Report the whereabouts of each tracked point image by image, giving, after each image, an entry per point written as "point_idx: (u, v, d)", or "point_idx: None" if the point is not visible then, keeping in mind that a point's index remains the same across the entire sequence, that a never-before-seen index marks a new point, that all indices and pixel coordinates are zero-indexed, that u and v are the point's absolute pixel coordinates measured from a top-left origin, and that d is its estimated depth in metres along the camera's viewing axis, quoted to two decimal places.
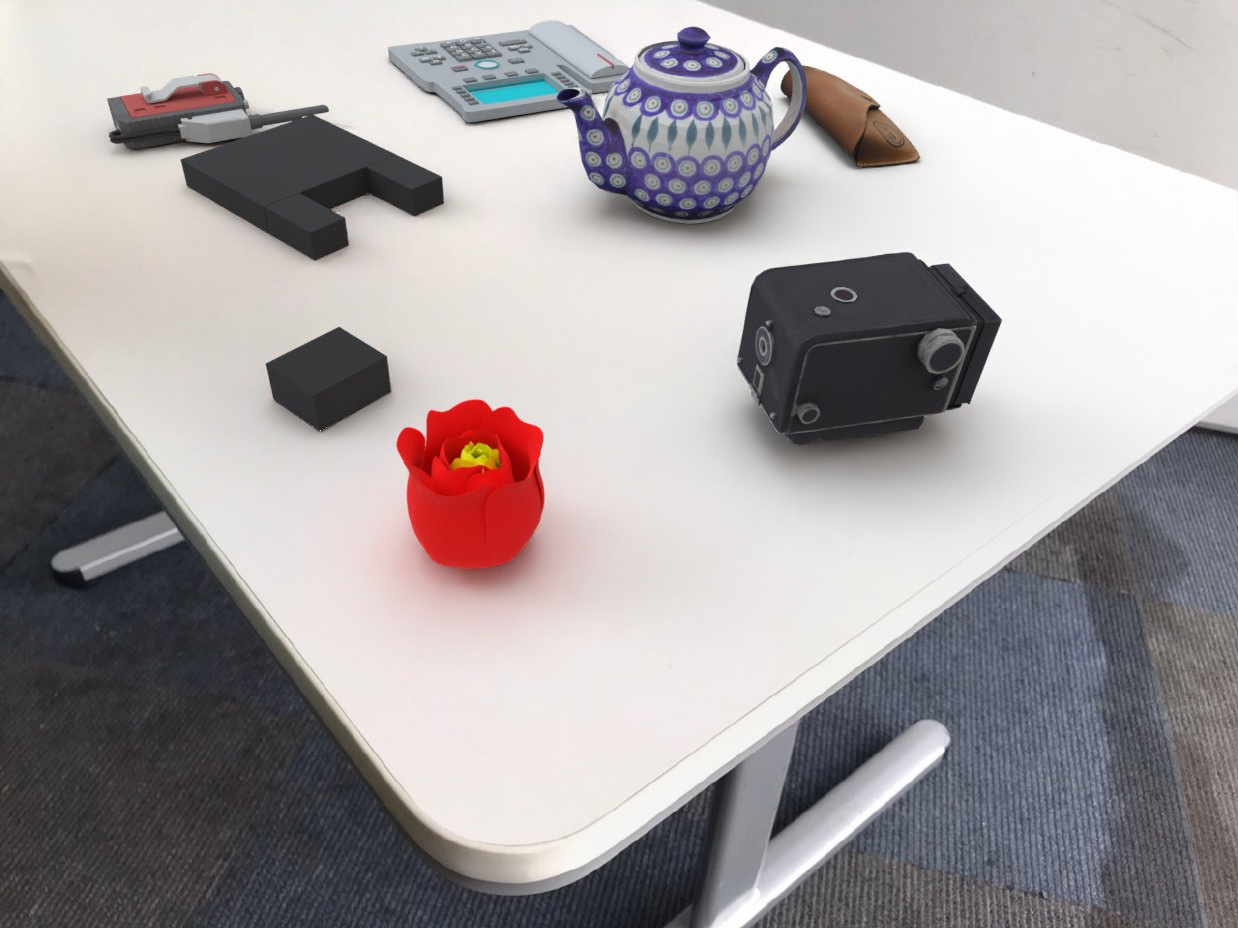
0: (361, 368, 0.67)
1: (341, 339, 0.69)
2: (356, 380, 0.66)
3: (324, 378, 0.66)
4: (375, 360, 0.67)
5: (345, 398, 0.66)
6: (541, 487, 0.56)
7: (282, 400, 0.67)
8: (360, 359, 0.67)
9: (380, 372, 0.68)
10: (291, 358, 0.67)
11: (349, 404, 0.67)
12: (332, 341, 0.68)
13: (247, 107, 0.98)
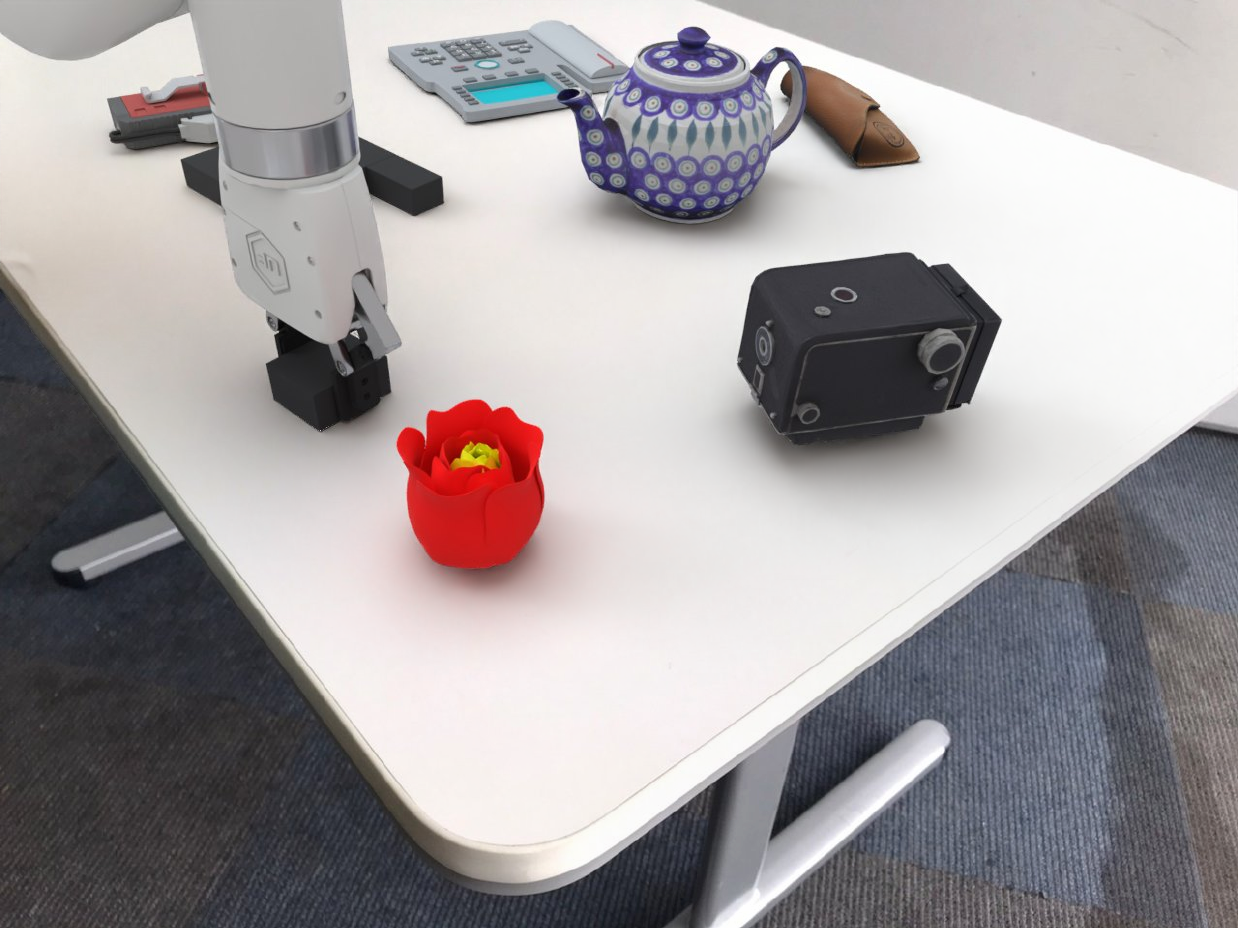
0: None
1: None
2: None
3: (324, 378, 0.66)
4: None
5: None
6: (541, 487, 0.56)
7: (282, 400, 0.67)
8: None
9: (380, 372, 0.68)
10: (291, 358, 0.67)
11: None
12: None
13: None
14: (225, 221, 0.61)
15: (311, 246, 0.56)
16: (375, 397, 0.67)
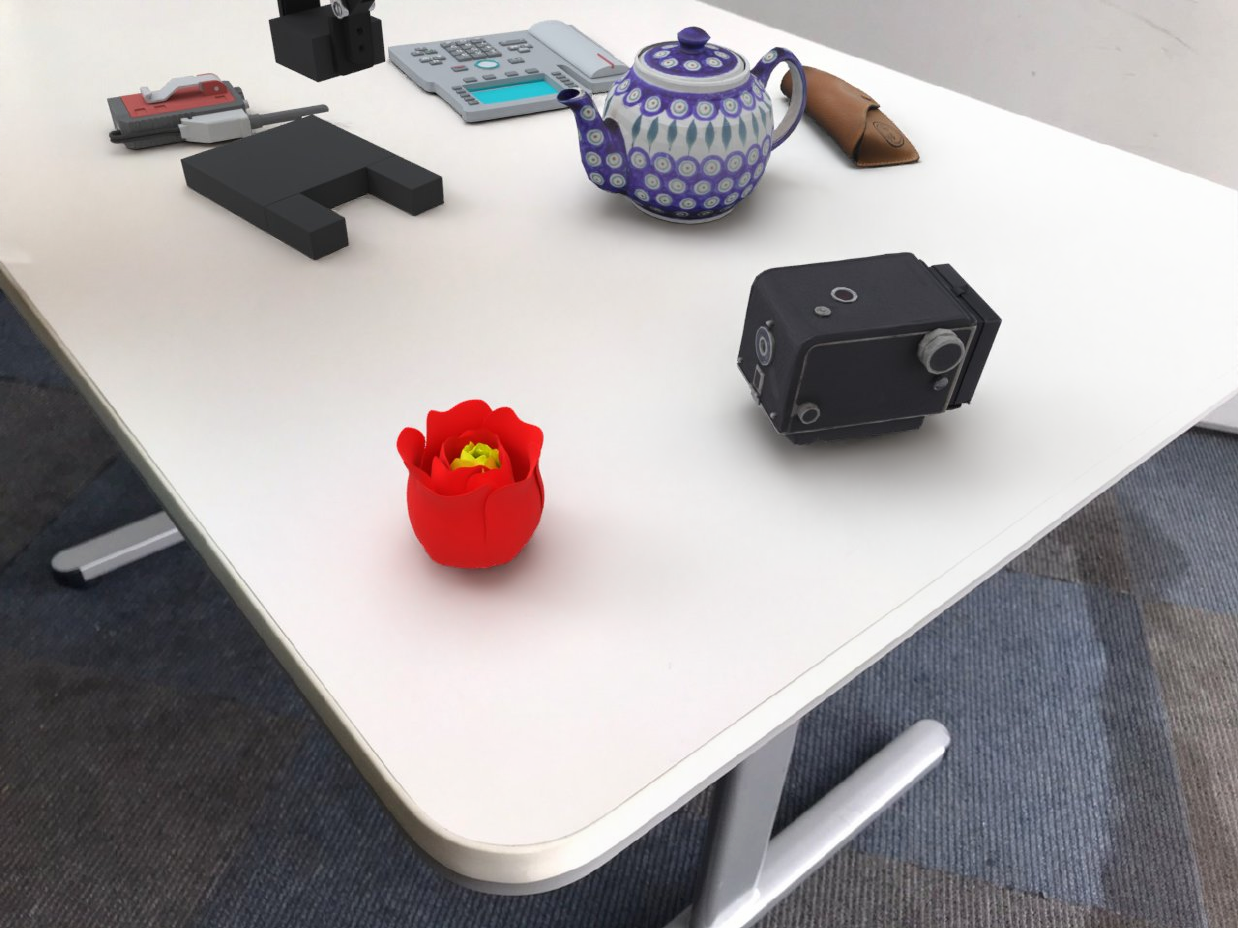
0: None
1: None
2: None
3: (322, 29, 0.70)
4: None
5: None
6: (541, 487, 0.56)
7: (283, 59, 0.72)
8: None
9: (375, 36, 0.73)
10: (292, 17, 0.72)
11: None
12: (330, 10, 0.73)
13: (247, 107, 0.98)
14: None
15: None
16: (369, 53, 0.72)
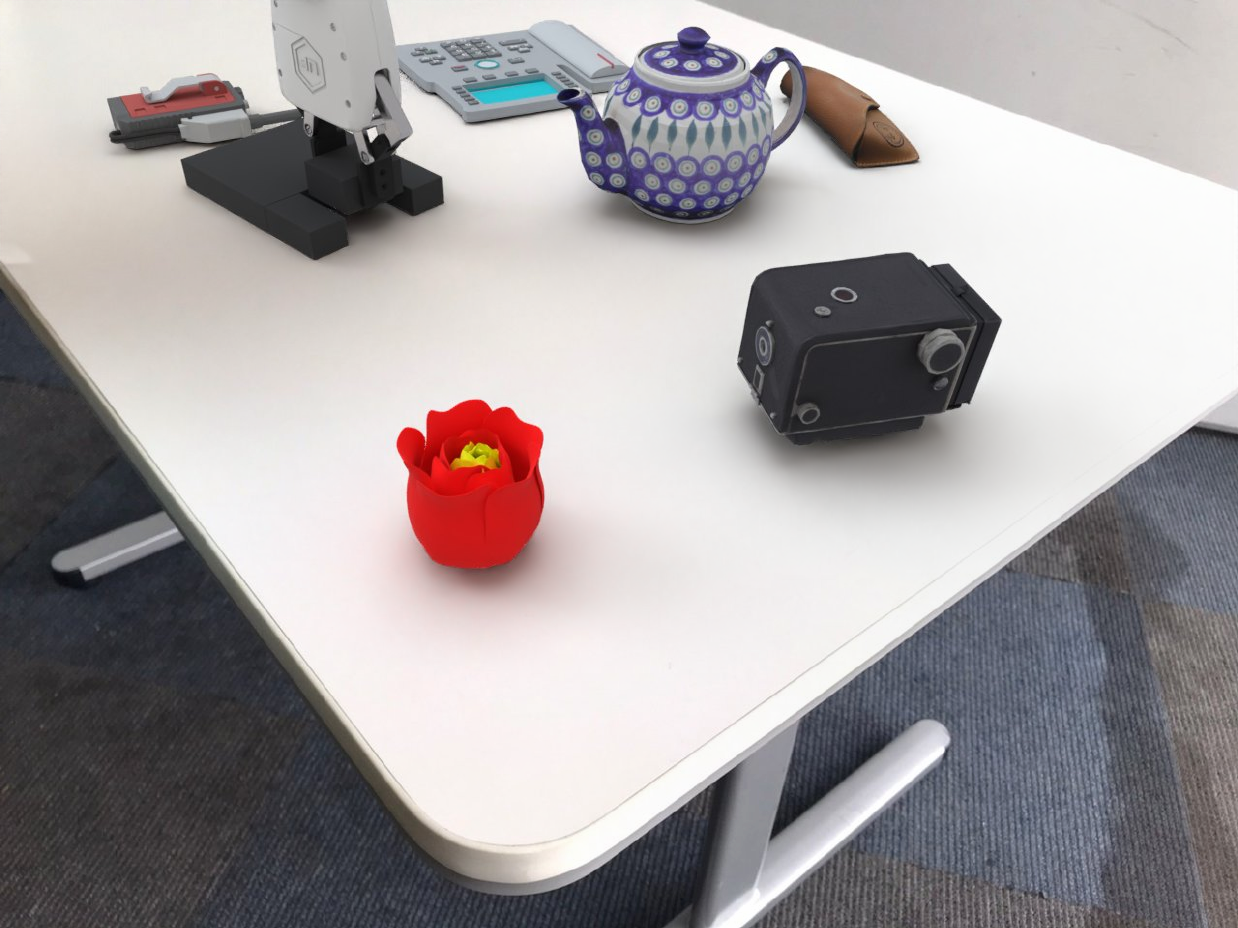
0: None
1: None
2: None
3: (351, 171, 0.82)
4: None
5: None
6: (541, 487, 0.56)
7: (316, 193, 0.84)
8: None
9: (395, 172, 0.85)
10: (323, 158, 0.84)
11: None
12: (356, 149, 0.85)
13: (247, 107, 0.98)
14: (274, 36, 0.78)
15: (344, 43, 0.73)
16: (391, 189, 0.83)
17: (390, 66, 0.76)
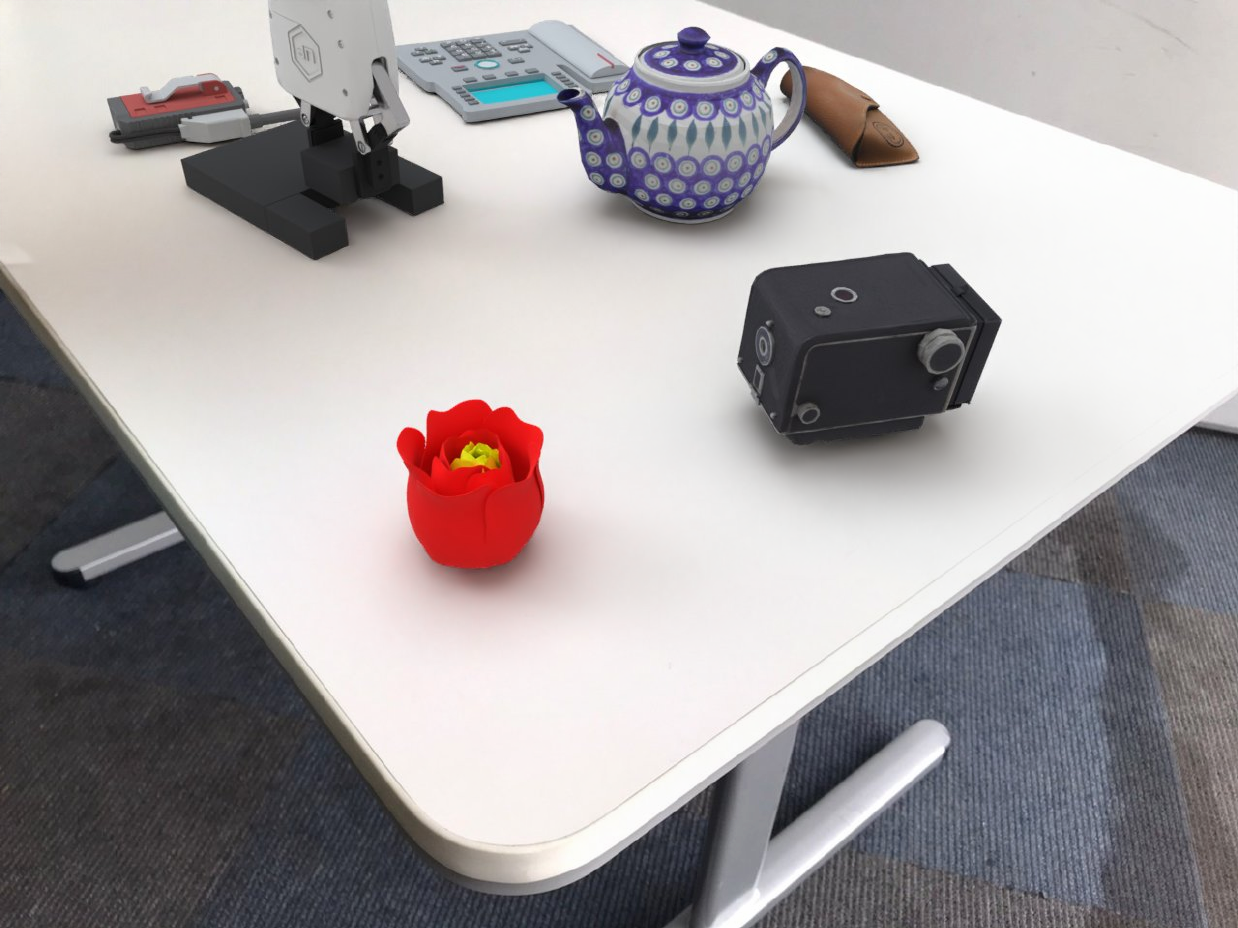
0: None
1: None
2: None
3: (347, 161, 0.82)
4: None
5: None
6: (541, 487, 0.56)
7: (313, 183, 0.84)
8: None
9: (392, 163, 0.84)
10: (320, 148, 0.83)
11: None
12: (352, 139, 0.85)
13: (247, 107, 0.98)
14: (271, 24, 0.77)
15: (341, 31, 0.72)
16: (387, 179, 0.83)
17: (387, 55, 0.76)
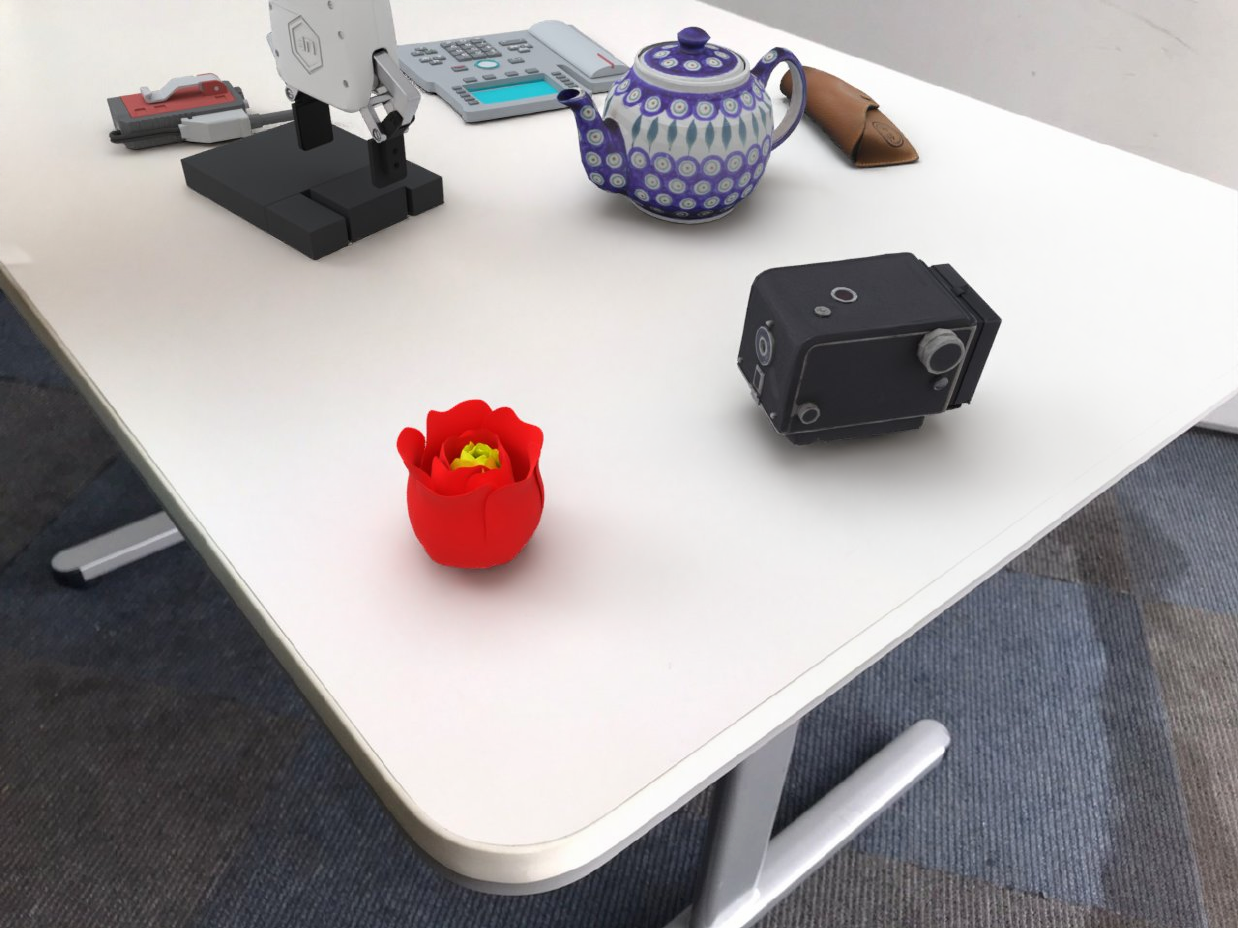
0: (385, 192, 0.85)
1: (368, 174, 0.87)
2: (381, 202, 0.85)
3: (356, 198, 0.84)
4: (396, 188, 0.85)
5: (372, 216, 0.84)
6: (541, 487, 0.56)
7: None
8: (384, 187, 0.85)
9: (400, 199, 0.86)
10: (329, 186, 0.85)
11: (375, 222, 0.85)
12: (361, 176, 0.87)
13: (247, 107, 0.99)
14: (271, 16, 0.77)
15: (341, 21, 0.72)
16: (403, 168, 0.81)
17: (388, 46, 0.75)
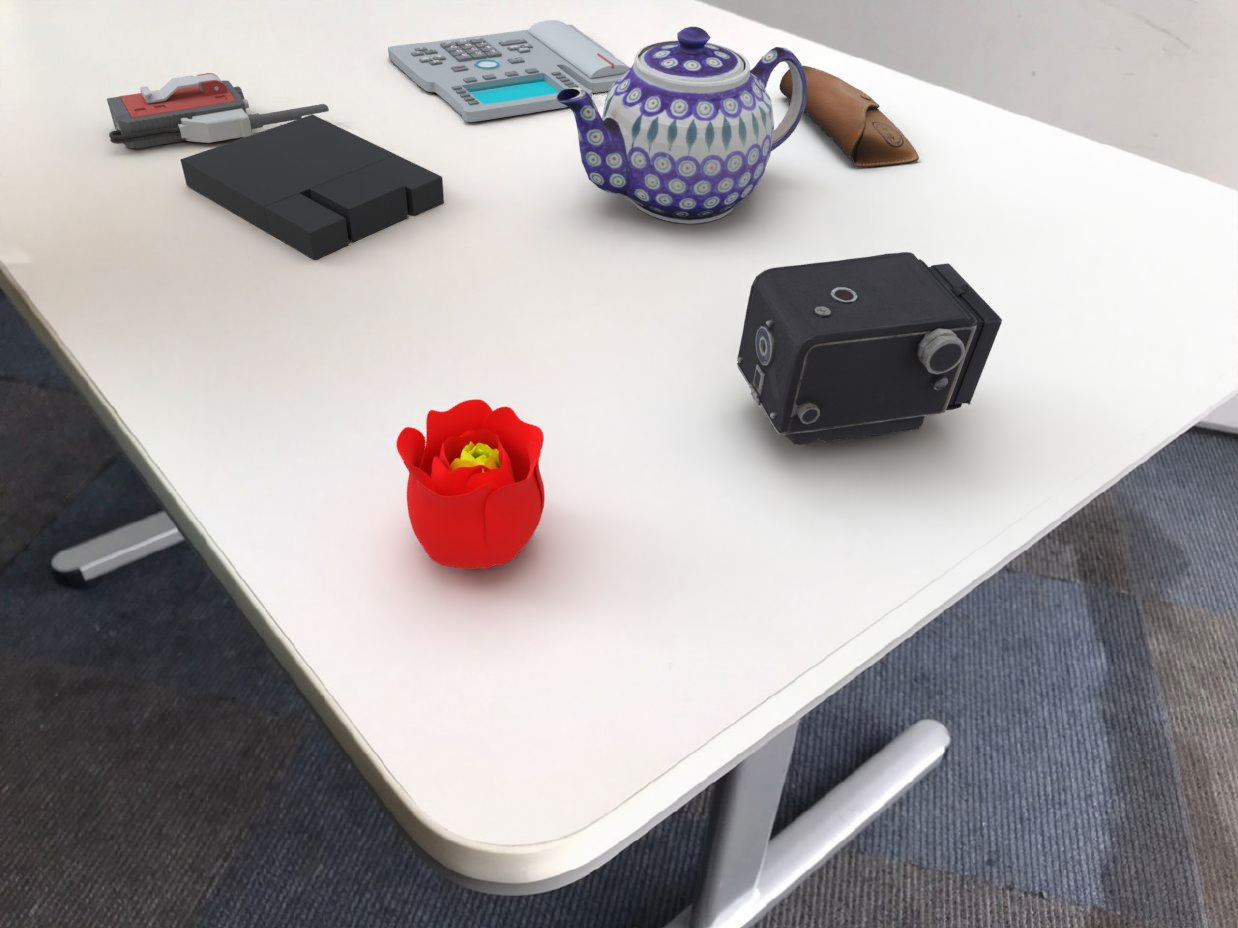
0: (385, 192, 0.85)
1: (368, 174, 0.87)
2: (381, 202, 0.85)
3: (356, 198, 0.84)
4: (396, 188, 0.85)
5: (372, 216, 0.84)
6: (541, 487, 0.56)
7: None
8: (384, 187, 0.85)
9: (400, 199, 0.86)
10: (329, 186, 0.85)
11: (375, 222, 0.85)
12: (361, 176, 0.87)
13: (247, 107, 0.99)
14: None
15: None
16: None
17: None
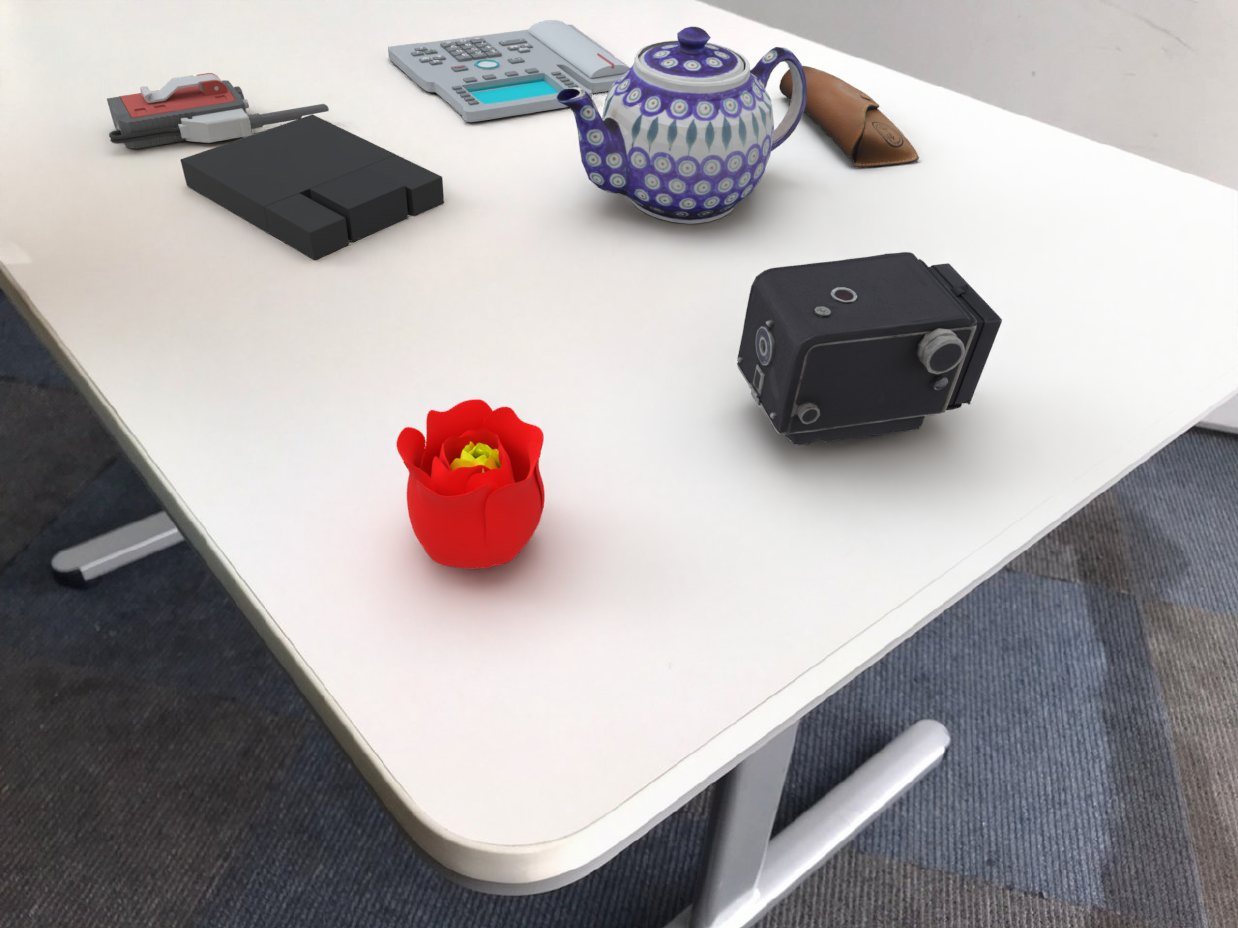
0: (385, 192, 0.85)
1: (368, 174, 0.87)
2: (381, 202, 0.85)
3: (356, 198, 0.84)
4: (396, 188, 0.85)
5: (372, 216, 0.84)
6: (541, 487, 0.56)
7: None
8: (384, 187, 0.85)
9: (400, 199, 0.86)
10: (329, 186, 0.85)
11: (375, 222, 0.85)
12: (361, 176, 0.87)
13: (247, 106, 0.99)
14: None
15: None
16: None
17: None
